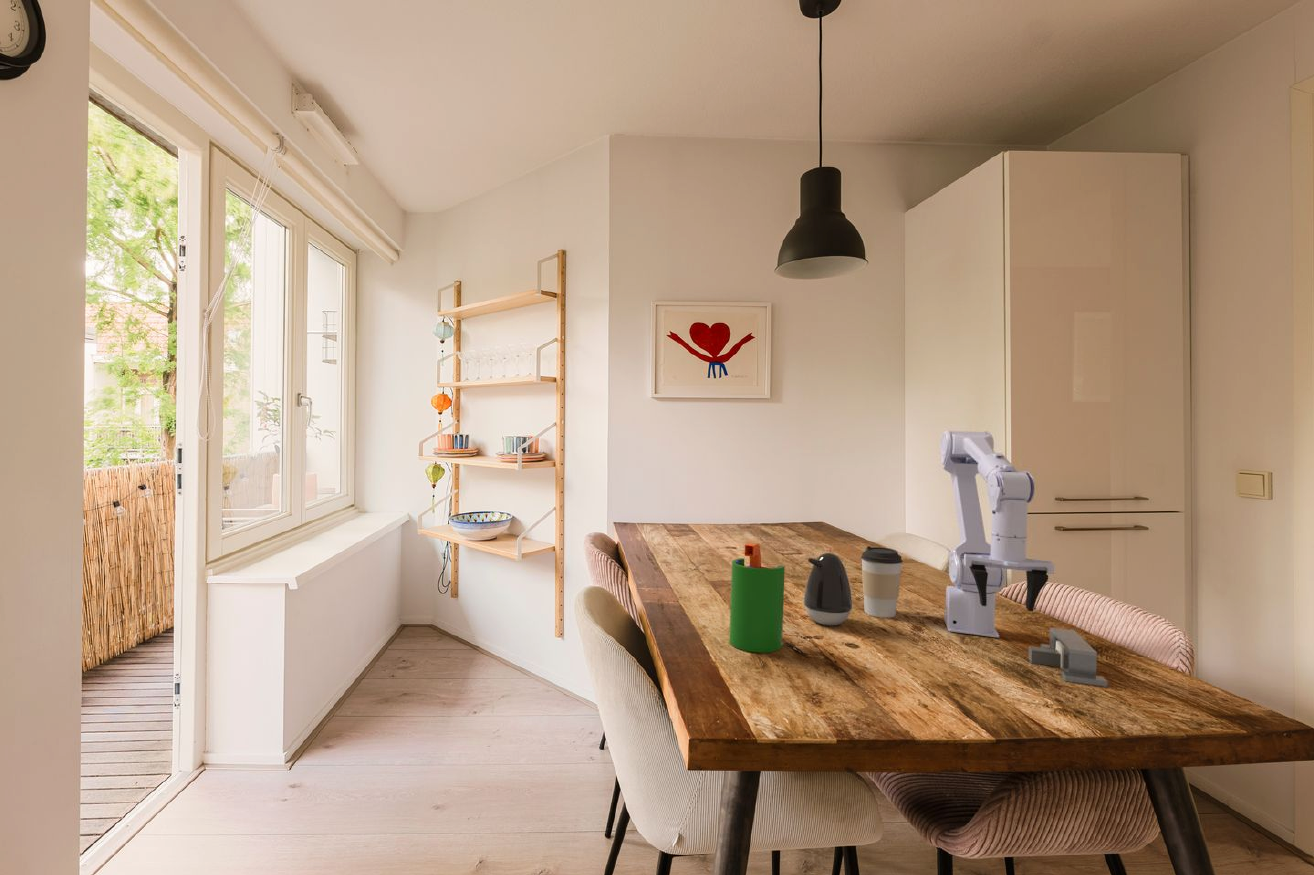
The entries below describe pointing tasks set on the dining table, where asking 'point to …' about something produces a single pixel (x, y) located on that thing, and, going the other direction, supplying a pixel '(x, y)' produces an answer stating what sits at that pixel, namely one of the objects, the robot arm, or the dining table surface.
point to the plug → (1047, 655)
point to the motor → (756, 604)
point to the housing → (1076, 657)
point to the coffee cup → (881, 581)
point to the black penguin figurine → (828, 591)
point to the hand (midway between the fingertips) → (1006, 607)
